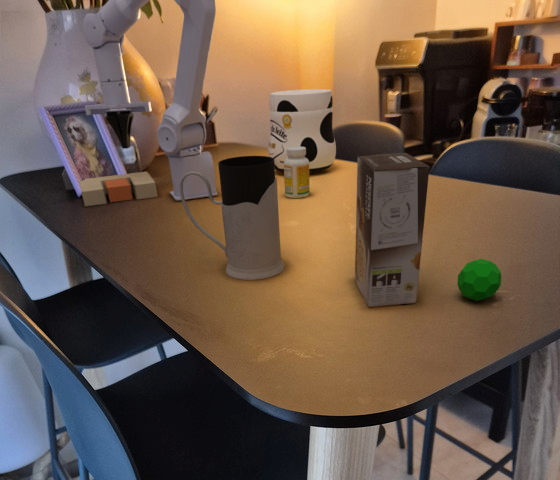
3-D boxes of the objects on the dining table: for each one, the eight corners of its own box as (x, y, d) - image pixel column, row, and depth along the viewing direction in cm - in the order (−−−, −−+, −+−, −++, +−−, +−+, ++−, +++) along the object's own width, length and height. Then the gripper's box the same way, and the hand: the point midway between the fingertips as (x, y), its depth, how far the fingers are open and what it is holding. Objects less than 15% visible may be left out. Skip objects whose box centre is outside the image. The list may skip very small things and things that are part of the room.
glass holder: (278, 280, 72) (272, 167, 64) (182, 278, 74) (164, 169, 66) (288, 258, 79) (284, 154, 71) (200, 257, 81) (186, 156, 73)
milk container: (256, 174, 132) (250, 95, 123) (293, 161, 144) (290, 88, 134) (313, 180, 124) (312, 95, 114) (347, 166, 135) (349, 88, 126)
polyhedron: (504, 305, 62) (512, 267, 59) (464, 308, 61) (470, 270, 59) (487, 288, 66) (493, 252, 63) (449, 291, 66) (454, 255, 63)
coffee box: (418, 303, 63) (432, 165, 54) (367, 308, 63) (373, 170, 54) (397, 276, 71) (407, 151, 62) (352, 279, 71) (355, 155, 62)
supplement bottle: (282, 198, 110) (280, 150, 105) (287, 192, 114) (285, 146, 109) (307, 198, 109) (306, 150, 104) (311, 192, 113) (310, 145, 108)
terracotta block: (129, 192, 123) (126, 178, 121) (132, 199, 116) (130, 184, 114) (107, 195, 121) (104, 180, 120) (110, 202, 115) (107, 187, 113)
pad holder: (149, 185, 128) (146, 171, 127) (157, 196, 117) (155, 182, 115) (82, 193, 124) (79, 179, 122) (85, 206, 113) (81, 191, 111)
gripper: (74, 84, 110) (90, 152, 117) (140, 80, 109) (152, 149, 116) (85, 82, 115) (100, 147, 123) (149, 78, 115) (159, 144, 122)
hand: (126, 147), depth 120 cm, fingers closed
